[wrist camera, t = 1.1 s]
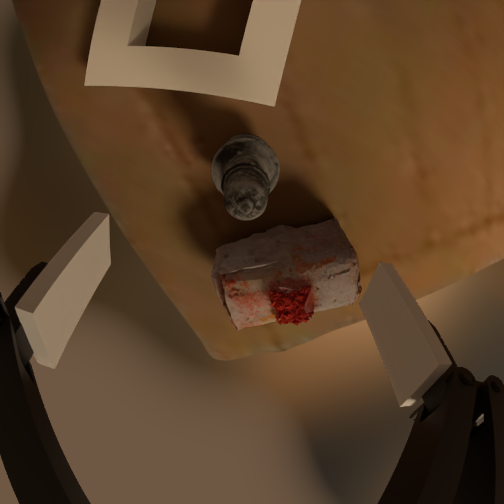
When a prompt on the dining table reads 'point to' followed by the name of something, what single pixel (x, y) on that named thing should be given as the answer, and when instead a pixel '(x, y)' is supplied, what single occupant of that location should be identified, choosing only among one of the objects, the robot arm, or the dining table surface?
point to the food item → (286, 274)
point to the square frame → (191, 53)
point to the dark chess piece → (245, 175)
